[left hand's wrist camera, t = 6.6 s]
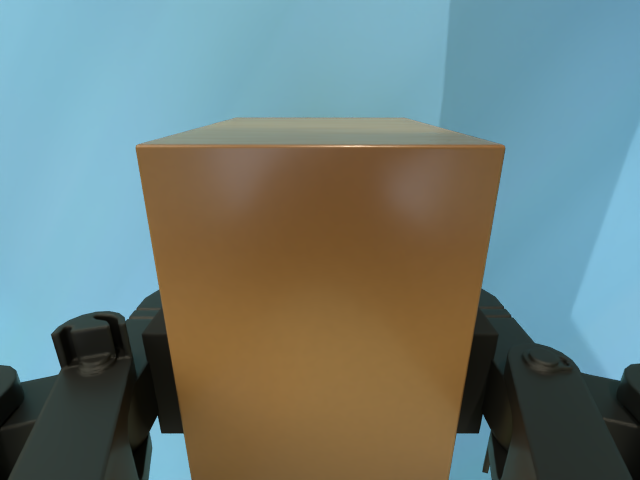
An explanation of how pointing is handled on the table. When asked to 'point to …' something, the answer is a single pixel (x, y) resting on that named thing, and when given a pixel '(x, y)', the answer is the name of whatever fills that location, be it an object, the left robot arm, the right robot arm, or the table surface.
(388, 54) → the table surface
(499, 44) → the table surface
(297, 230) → the block
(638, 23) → the table surface
